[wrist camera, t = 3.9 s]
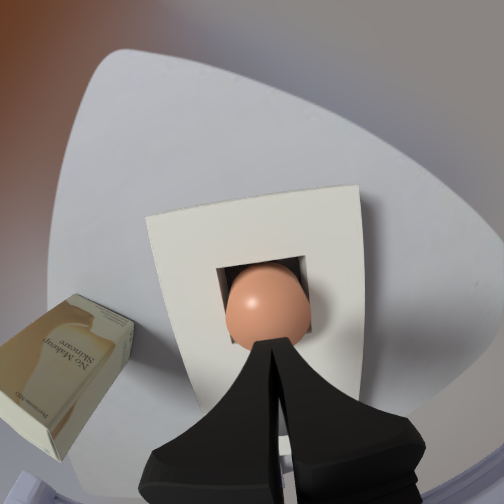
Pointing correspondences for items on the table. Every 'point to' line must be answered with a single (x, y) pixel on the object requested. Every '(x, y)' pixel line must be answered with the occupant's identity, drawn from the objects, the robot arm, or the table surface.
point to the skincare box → (61, 371)
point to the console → (258, 250)
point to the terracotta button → (267, 305)
